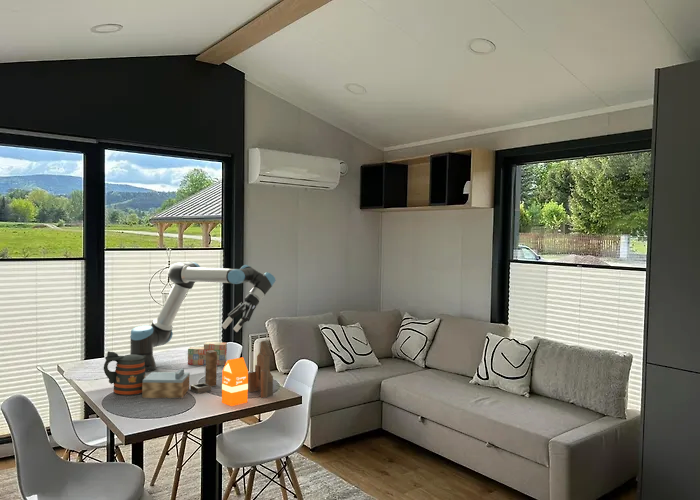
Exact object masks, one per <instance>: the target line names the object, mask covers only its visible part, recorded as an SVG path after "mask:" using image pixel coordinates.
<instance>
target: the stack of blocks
mask: <svg viewBox="0 0 700 500" xmlns="http://www.w3.org/2000/svg"><path fill="white" fill-rule="evenodd" d="M227 349H228V342H221V341H216V342H215V341H214V342H213V341H206V342H204V343H203V346H202V347H201V346H189V347H188V349H187V365H189V366H190V365H195V366H197V365H199V366H206V351H212V350H214V351H216V352H217V366H225V364H226V362H227Z"/></svg>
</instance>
